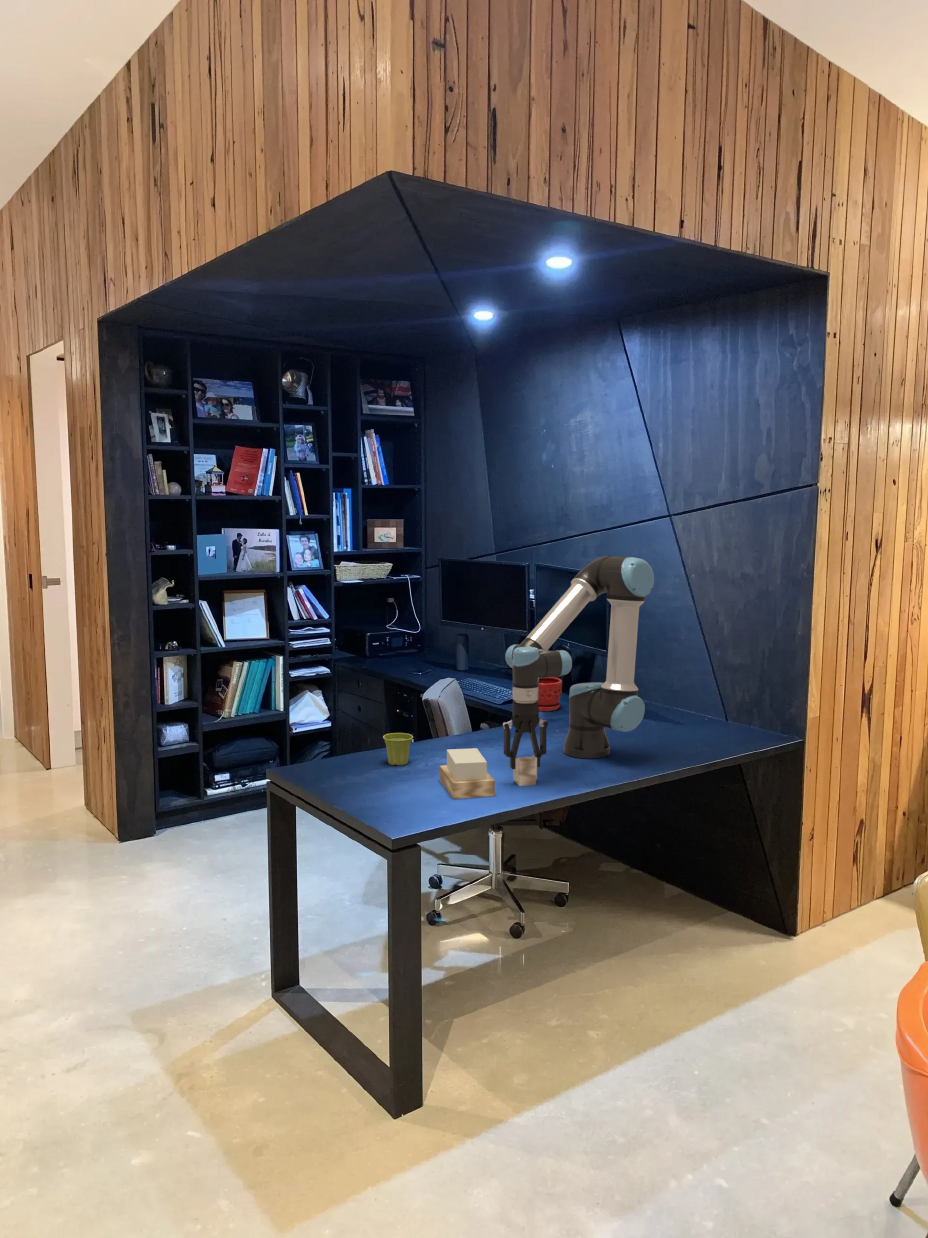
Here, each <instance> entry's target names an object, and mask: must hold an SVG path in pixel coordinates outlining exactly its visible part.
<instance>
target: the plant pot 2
mask: <svg viewBox="0 0 928 1238" xmlns="http://www.w3.org/2000/svg"><path fill="white" fill-rule="evenodd" d="M562 683H563V680H562V679H560V678H558V677H548V678H541V679H539V690H538V700H537V701H538V712H539V711H541V712H551V711H556V710H558V709H559V708H560V706H561V704H560V703H559V702H560V699H561V696H562V693H563V691H562V690H563V684H562Z"/></svg>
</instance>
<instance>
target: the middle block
mask: <svg viewBox="0 0 928 1238" xmlns="http://www.w3.org/2000/svg"><path fill="white" fill-rule="evenodd" d="M446 765H447V767H448V769H449V771H450V773H451V775H452V776H453V778H454V780H455V781H466V780H486V779H487V772H488V762H487V761H486V759H485V757H484V756H483V755H482V753H481V752H480V751H479V749H478V748H477V747H475V748H473V747H472V748H455V749H453V748H451V749H450V748H449V749H446Z"/></svg>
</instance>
